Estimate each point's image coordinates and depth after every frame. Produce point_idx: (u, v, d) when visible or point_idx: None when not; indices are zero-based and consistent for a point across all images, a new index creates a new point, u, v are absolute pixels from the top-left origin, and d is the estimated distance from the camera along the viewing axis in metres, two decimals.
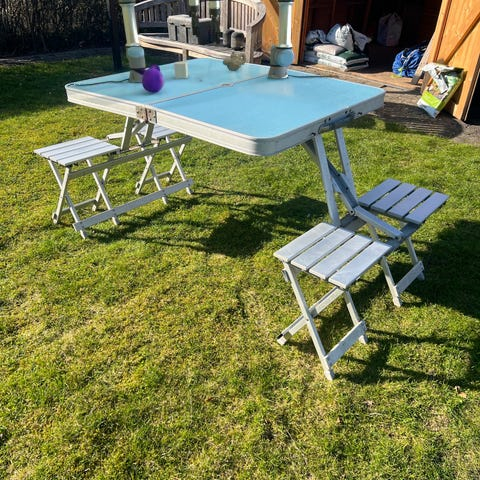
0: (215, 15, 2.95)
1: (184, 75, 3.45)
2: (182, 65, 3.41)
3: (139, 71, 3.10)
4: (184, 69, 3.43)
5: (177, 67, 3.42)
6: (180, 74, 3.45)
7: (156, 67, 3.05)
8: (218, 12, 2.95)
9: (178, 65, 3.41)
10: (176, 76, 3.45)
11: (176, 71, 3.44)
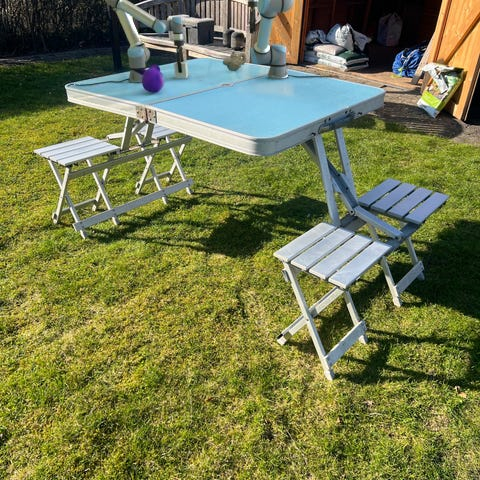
0: None
1: (184, 75, 3.45)
2: (182, 65, 3.41)
3: (139, 71, 3.10)
4: (184, 69, 3.43)
5: (177, 67, 3.42)
6: (180, 74, 3.45)
7: (156, 67, 3.05)
8: None
9: None
10: (176, 76, 3.45)
11: (176, 71, 3.44)
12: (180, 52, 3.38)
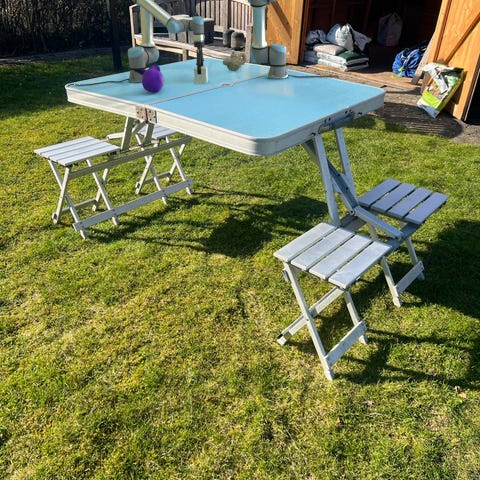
0: None
1: (204, 80, 3.25)
2: (202, 70, 3.22)
3: (139, 71, 3.10)
4: (204, 74, 3.23)
5: None
6: (200, 79, 3.25)
7: (156, 67, 3.05)
8: None
9: None
10: (196, 82, 3.26)
11: (196, 76, 3.24)
12: None
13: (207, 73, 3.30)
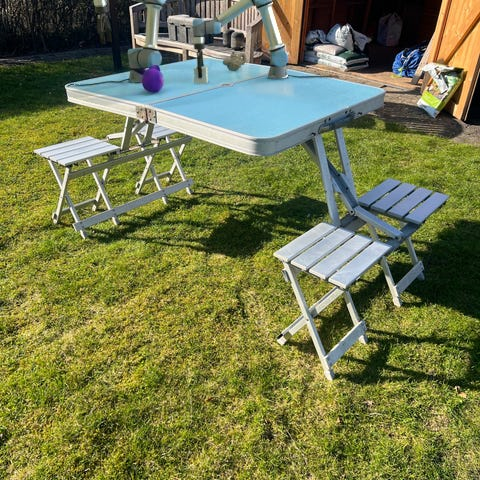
0: None
1: (204, 80, 3.25)
2: (202, 70, 3.22)
3: (139, 71, 3.10)
4: (204, 74, 3.23)
5: (197, 72, 3.23)
6: (200, 79, 3.25)
7: (156, 67, 3.05)
8: None
9: None
10: (196, 82, 3.26)
11: (196, 76, 3.24)
12: None
13: (207, 73, 3.30)
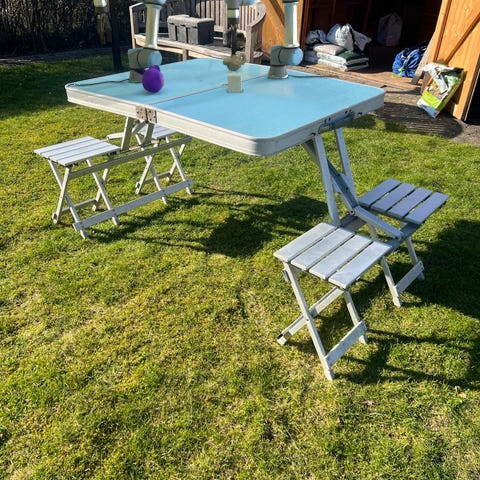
0: None
1: (239, 89, 2.99)
2: (237, 77, 2.96)
3: (139, 71, 3.10)
4: (239, 82, 2.97)
5: (231, 79, 2.97)
6: (234, 87, 2.99)
7: (156, 67, 3.05)
8: None
9: (232, 77, 2.96)
10: (230, 90, 3.00)
11: (230, 84, 2.98)
12: None
13: (241, 80, 3.04)
